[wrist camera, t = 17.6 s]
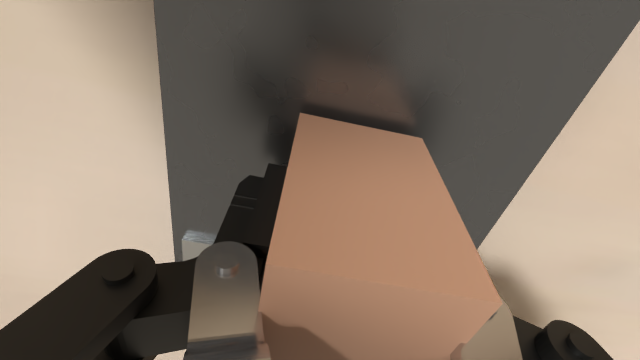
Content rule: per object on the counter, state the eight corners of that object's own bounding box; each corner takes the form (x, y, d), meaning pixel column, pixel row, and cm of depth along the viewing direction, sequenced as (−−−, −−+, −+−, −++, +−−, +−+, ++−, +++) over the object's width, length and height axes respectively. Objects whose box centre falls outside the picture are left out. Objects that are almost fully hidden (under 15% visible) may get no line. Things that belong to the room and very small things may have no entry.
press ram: (300, 112, 10) (265, 264, 5) (422, 138, 10) (503, 303, 5) (279, 227, 13) (244, 396, 8) (375, 244, 13) (400, 417, 8)
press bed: (171, -311, 7) (110, -411, 5) (689, -149, 8) (796, -182, 6) (193, 309, 21) (179, 345, 19) (387, 338, 22) (392, 375, 20)
